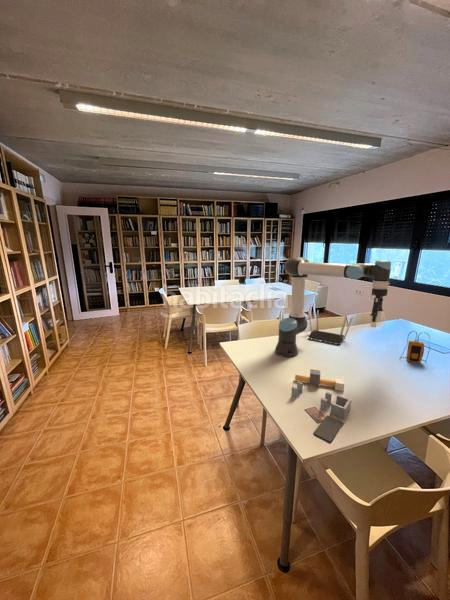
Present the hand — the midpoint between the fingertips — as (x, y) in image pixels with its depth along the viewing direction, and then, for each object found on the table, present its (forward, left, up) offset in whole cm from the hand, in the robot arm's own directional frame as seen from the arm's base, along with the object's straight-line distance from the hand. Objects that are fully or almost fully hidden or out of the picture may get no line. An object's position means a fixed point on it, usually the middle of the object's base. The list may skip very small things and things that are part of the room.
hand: (375, 324), depth 143 cm
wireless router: (-37, +34, -28) cm, 57 cm away
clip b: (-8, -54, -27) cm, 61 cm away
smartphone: (-2, -68, -28) cm, 74 cm away
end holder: (-1, -54, -27) cm, 61 cm away
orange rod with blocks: (-17, -39, -27) cm, 50 cm away
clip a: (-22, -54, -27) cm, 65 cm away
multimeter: (+18, +31, -28) cm, 45 cm away
